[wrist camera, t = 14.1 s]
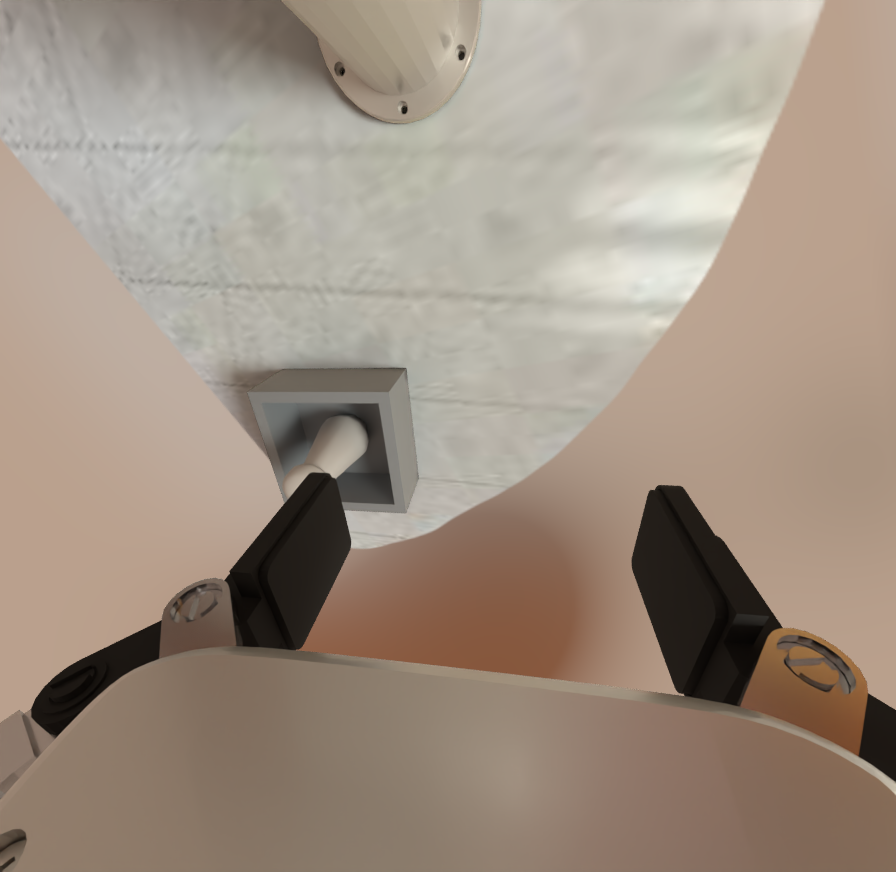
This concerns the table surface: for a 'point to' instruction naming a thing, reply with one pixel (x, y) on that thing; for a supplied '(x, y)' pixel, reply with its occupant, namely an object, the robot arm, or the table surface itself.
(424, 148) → the table surface
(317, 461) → the salt shaker
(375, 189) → the table surface
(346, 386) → the bin
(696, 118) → the table surface
